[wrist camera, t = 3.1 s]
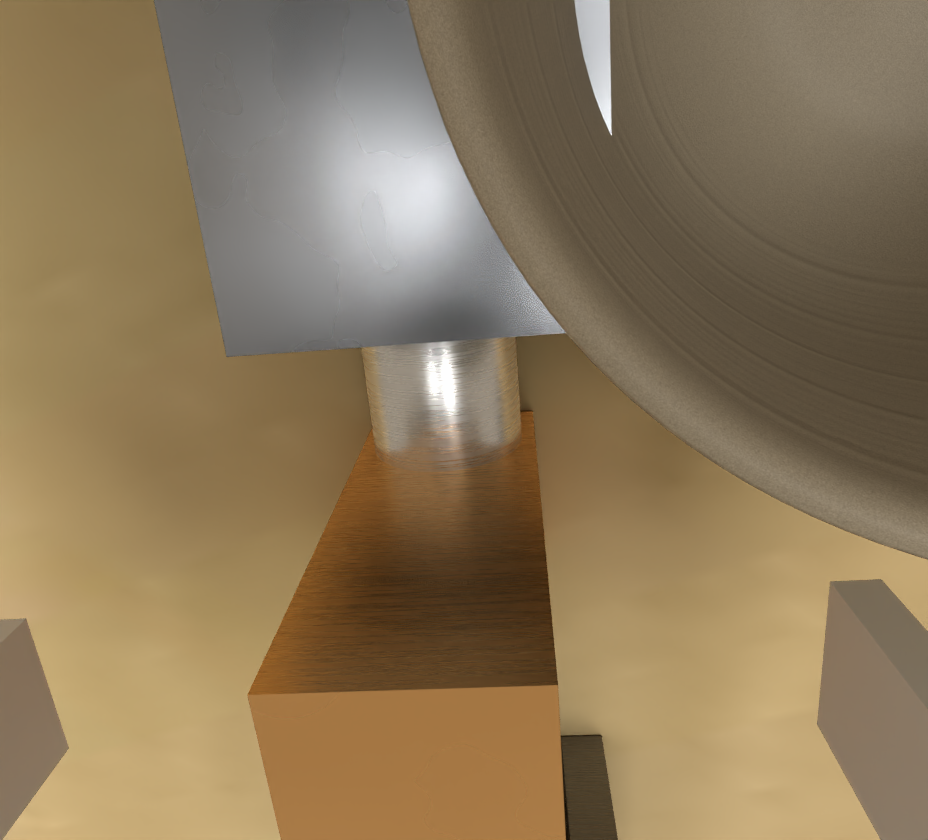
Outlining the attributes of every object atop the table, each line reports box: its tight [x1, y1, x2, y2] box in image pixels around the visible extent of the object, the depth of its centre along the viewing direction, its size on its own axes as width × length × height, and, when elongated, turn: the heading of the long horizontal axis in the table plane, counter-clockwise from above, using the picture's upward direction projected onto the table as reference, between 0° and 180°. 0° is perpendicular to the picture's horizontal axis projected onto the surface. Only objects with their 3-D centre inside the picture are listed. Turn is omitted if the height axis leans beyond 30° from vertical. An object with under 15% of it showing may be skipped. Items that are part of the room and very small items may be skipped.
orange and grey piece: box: [248, 337, 566, 840], centre depth 14 cm, size 19×4×10 cm, turn 5°
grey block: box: [154, 0, 612, 357], centre depth 14 cm, size 10×7×5 cm
